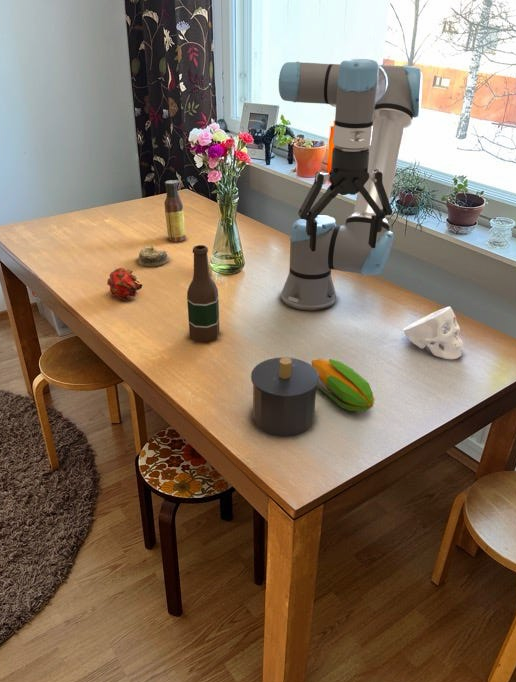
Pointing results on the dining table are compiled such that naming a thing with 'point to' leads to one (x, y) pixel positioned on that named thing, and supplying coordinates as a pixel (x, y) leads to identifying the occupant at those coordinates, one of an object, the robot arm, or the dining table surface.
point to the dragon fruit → (123, 283)
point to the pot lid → (285, 377)
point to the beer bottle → (202, 300)
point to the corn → (344, 385)
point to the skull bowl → (437, 333)
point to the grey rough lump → (152, 257)
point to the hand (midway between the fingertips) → (342, 247)
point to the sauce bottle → (174, 213)
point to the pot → (283, 413)
